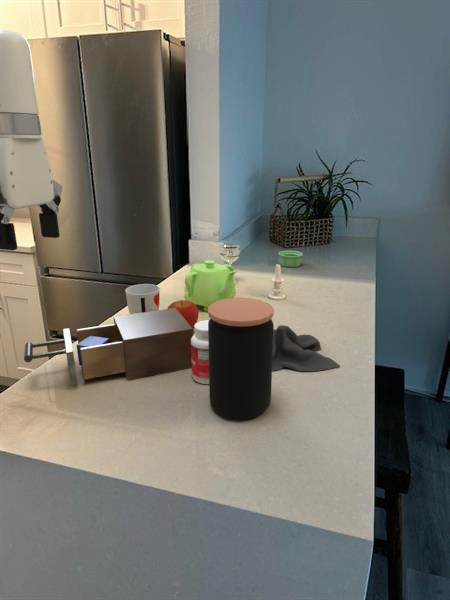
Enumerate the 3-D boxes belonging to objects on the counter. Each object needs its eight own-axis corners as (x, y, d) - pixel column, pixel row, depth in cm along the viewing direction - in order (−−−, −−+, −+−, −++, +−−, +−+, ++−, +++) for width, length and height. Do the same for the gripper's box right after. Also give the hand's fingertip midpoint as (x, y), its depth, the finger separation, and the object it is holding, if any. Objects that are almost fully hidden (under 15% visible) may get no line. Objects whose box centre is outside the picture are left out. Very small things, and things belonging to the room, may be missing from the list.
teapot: (244, 298, 127) (245, 256, 123) (236, 315, 114) (237, 269, 110) (192, 294, 130) (191, 253, 126) (178, 311, 117) (176, 266, 113)
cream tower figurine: (285, 294, 130) (287, 260, 126) (286, 300, 125) (287, 265, 122) (268, 293, 131) (269, 260, 127) (268, 299, 126) (269, 265, 122)
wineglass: (216, 281, 143) (215, 245, 139) (233, 277, 146) (233, 243, 142) (227, 286, 137) (227, 249, 133) (244, 282, 141) (245, 246, 137)
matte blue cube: (79, 365, 85) (76, 344, 83) (92, 355, 89) (89, 335, 87) (98, 368, 83) (96, 347, 82) (111, 358, 87) (109, 338, 86)
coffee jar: (277, 394, 78) (281, 301, 72) (259, 428, 69) (262, 325, 63) (223, 383, 82) (222, 294, 76) (199, 414, 72) (196, 315, 66)
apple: (165, 337, 101) (163, 306, 99) (169, 324, 109) (167, 295, 106) (197, 337, 101) (197, 306, 98) (200, 324, 108) (199, 295, 106)
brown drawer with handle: (28, 393, 77) (22, 360, 75) (29, 365, 87) (24, 334, 85) (138, 372, 84) (135, 341, 82) (127, 348, 94) (125, 319, 92)
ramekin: (291, 269, 156) (291, 257, 154) (273, 264, 162) (273, 253, 161) (307, 265, 161) (307, 253, 160) (288, 260, 168) (289, 249, 166)
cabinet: (127, 380, 83) (123, 340, 80) (117, 353, 94) (113, 316, 91) (194, 367, 88) (193, 328, 85) (177, 342, 99) (175, 307, 96)
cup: (140, 336, 102) (136, 296, 98) (122, 326, 107) (119, 288, 104) (168, 327, 107) (166, 289, 104) (150, 318, 113) (147, 281, 109)
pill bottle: (195, 368, 87) (194, 317, 84) (225, 370, 87) (225, 319, 83) (188, 384, 82) (186, 330, 78) (220, 386, 81) (220, 332, 77)
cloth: (226, 366, 88) (226, 339, 86) (246, 331, 105) (247, 307, 103) (339, 381, 82) (342, 352, 80) (341, 341, 99) (343, 316, 97)
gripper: (33, 130, 72) (47, 232, 78) (-59, 126, 57) (-33, 253, 62) (71, 130, 70) (82, 234, 76) (-14, 125, 55) (9, 257, 60)
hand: (30, 242), depth 69 cm, fingers open, 9 cm apart
